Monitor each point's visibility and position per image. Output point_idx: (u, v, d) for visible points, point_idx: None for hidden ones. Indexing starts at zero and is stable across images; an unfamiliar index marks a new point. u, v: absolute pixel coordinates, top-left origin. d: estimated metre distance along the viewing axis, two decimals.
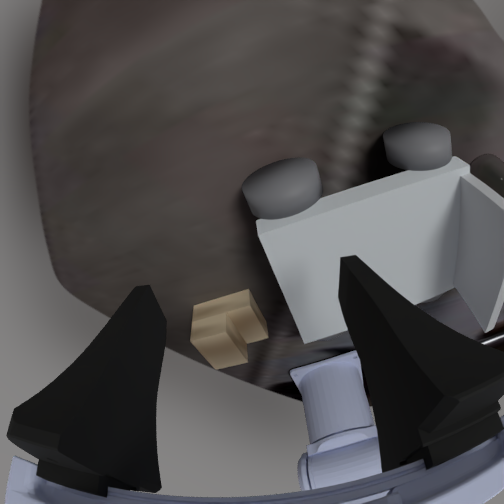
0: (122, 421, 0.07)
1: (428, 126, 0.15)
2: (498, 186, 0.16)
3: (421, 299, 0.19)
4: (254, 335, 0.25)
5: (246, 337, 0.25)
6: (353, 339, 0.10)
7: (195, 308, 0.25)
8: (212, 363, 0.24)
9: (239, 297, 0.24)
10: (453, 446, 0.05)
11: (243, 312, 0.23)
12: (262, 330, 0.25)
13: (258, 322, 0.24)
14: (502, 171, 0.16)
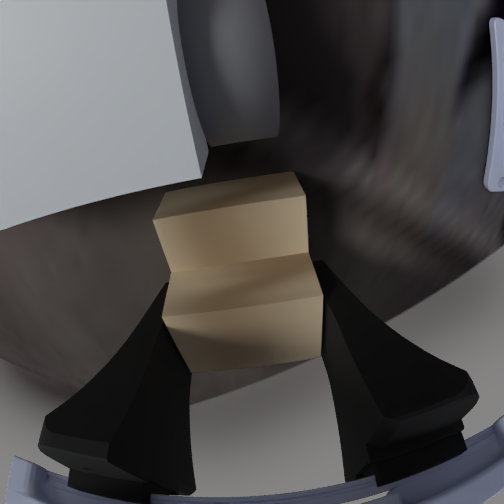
0: (162, 423, 0.07)
1: None
2: None
3: None
4: (279, 228, 0.09)
5: (281, 248, 0.09)
6: None
7: None
8: (290, 358, 0.10)
9: None
10: (406, 465, 0.05)
11: (177, 238, 0.09)
12: (264, 205, 0.09)
13: (225, 210, 0.09)
14: None
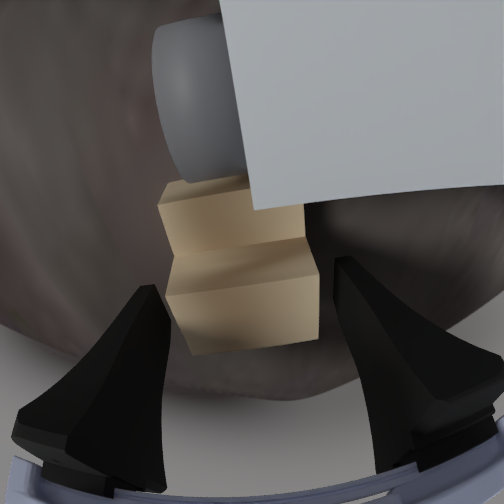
0: (128, 421, 0.07)
1: None
2: None
3: None
4: (277, 213, 0.10)
5: (279, 232, 0.10)
6: (348, 340, 0.10)
7: None
8: (289, 340, 0.10)
9: None
10: (446, 449, 0.05)
11: (180, 223, 0.10)
12: None
13: (226, 195, 0.09)
14: None
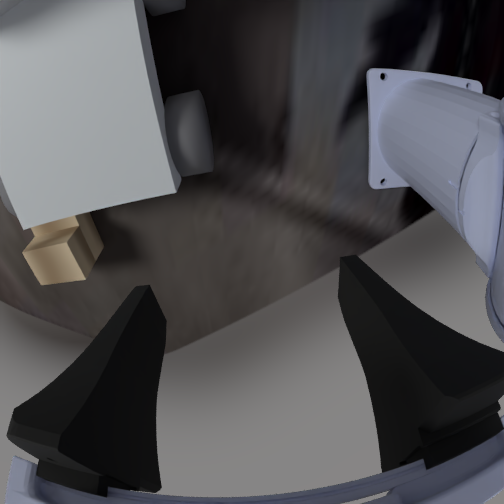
0: (122, 421, 0.07)
1: None
2: None
3: (126, 0, 0.08)
4: None
5: (68, 224, 0.18)
6: (353, 339, 0.10)
7: None
8: (73, 278, 0.18)
9: None
10: (453, 446, 0.05)
11: None
12: None
13: None
14: None
